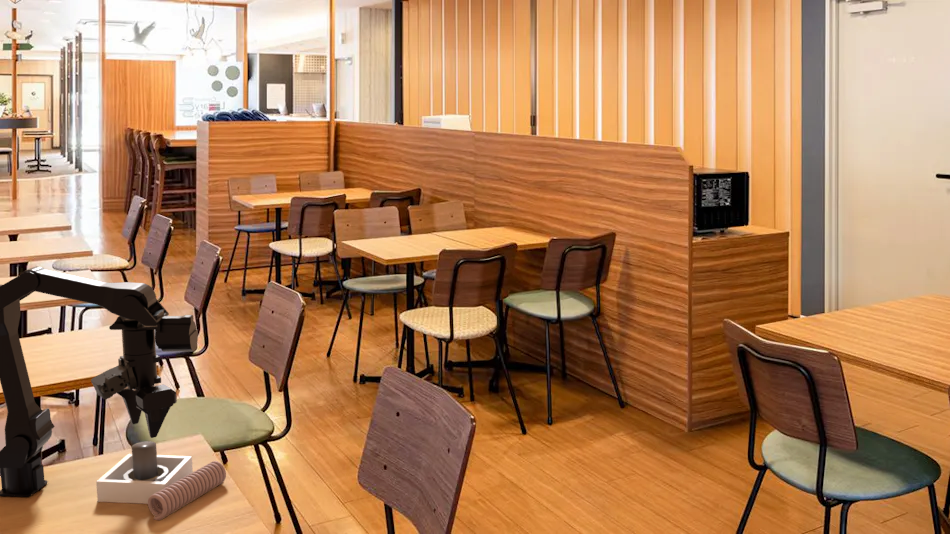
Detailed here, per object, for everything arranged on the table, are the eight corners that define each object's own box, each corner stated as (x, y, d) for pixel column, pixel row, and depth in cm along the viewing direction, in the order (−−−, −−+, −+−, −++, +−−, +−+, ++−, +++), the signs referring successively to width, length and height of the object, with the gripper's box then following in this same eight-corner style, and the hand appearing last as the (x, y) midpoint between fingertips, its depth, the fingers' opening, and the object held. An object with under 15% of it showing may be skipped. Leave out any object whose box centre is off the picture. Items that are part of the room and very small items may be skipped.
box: (97, 501, 158) (96, 481, 157) (129, 472, 171) (128, 453, 170) (165, 504, 157) (164, 484, 157) (192, 475, 170) (191, 456, 169)
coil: (164, 500, 150) (230, 462, 166) (143, 493, 151) (210, 456, 168) (163, 524, 151) (229, 484, 167) (143, 517, 152) (209, 478, 169)
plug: (130, 489, 162) (127, 449, 161) (140, 479, 166) (137, 440, 165) (152, 490, 162) (150, 450, 160) (162, 480, 166) (159, 441, 165)
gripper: (78, 348, 161) (83, 426, 164) (112, 370, 147) (118, 456, 150) (137, 338, 168) (141, 413, 171) (175, 359, 154) (179, 440, 157)
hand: (144, 430), depth 162 cm, fingers open, 9 cm apart
